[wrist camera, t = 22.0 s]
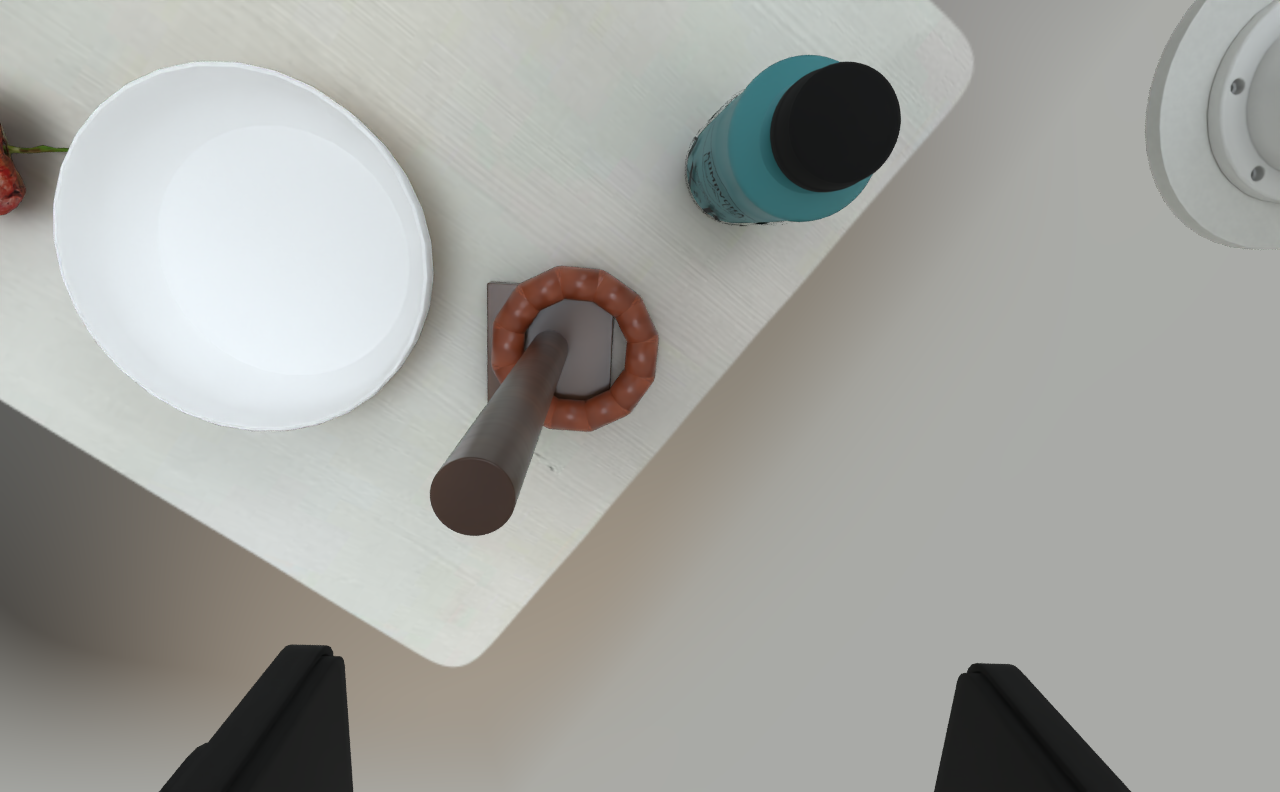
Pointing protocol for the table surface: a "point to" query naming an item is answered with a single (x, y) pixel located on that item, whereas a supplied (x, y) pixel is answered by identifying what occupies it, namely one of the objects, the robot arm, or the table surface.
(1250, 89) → the robot arm
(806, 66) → the beverage bottle
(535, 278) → the ring
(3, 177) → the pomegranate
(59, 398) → the table surface
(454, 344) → the table surface
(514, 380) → the peg post
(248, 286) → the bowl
